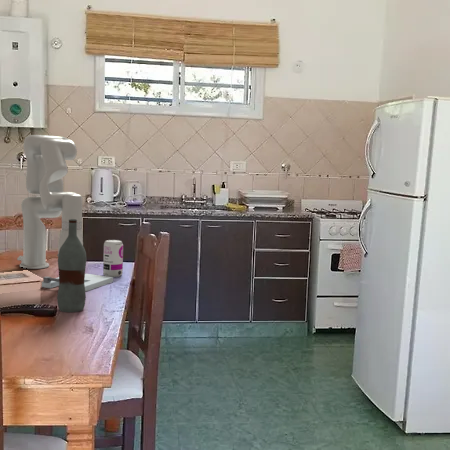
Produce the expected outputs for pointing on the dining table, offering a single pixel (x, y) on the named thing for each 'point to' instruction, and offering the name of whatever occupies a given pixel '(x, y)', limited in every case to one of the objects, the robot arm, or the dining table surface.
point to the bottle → (71, 272)
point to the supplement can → (113, 258)
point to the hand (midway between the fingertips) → (71, 271)
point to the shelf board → (89, 281)
